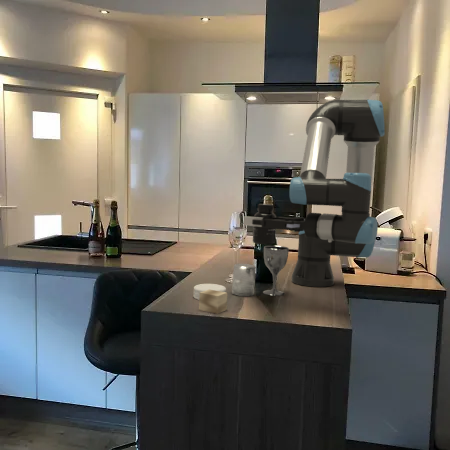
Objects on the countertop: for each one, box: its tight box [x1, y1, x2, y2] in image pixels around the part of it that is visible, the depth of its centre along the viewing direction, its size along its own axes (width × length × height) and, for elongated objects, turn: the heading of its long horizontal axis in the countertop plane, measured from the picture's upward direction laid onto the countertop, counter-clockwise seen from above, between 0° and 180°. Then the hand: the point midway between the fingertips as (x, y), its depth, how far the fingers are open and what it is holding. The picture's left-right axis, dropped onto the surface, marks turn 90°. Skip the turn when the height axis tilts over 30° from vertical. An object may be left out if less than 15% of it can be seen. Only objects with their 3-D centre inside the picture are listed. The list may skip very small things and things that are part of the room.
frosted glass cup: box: [231, 263, 257, 297], centre depth 157 cm, size 7×7×9 cm
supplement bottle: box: [252, 203, 277, 246], centre depth 150 cm, size 7×7×12 cm
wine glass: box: [262, 245, 289, 297], centre depth 160 cm, size 8×8×15 cm
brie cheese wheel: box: [192, 283, 227, 301], centre depth 151 cm, size 10×10×4 cm
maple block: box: [198, 289, 228, 315], centre depth 137 cm, size 6×5×5 cm
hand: (250, 220), depth 153 cm, fingers closed on supplement bottle, 7 cm apart
